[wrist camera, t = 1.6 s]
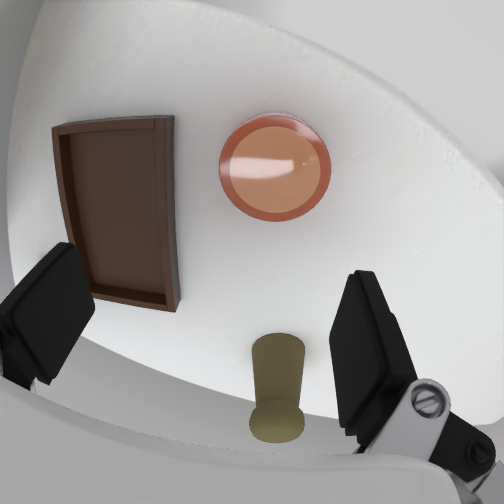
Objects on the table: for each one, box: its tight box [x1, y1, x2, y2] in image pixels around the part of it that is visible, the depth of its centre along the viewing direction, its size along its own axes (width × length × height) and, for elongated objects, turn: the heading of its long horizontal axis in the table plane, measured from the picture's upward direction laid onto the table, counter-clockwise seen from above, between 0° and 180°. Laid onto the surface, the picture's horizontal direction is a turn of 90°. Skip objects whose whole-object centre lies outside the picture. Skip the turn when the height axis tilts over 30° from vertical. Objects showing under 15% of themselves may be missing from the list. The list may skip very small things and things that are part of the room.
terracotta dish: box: [219, 112, 331, 222], centre depth 19 cm, size 7×7×4 cm
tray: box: [52, 115, 180, 313], centre depth 23 cm, size 11×18×2 cm, turn 176°
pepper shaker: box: [249, 333, 305, 443], centre depth 27 cm, size 6×6×11 cm
